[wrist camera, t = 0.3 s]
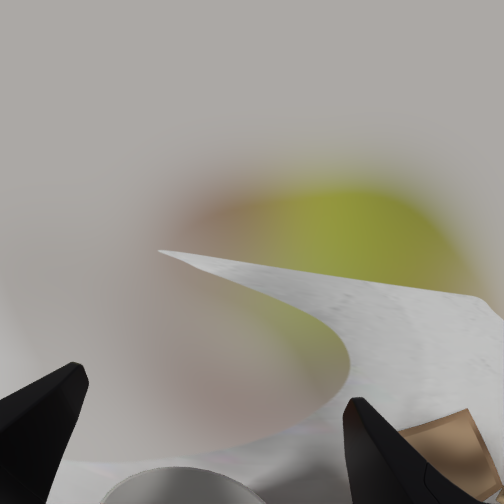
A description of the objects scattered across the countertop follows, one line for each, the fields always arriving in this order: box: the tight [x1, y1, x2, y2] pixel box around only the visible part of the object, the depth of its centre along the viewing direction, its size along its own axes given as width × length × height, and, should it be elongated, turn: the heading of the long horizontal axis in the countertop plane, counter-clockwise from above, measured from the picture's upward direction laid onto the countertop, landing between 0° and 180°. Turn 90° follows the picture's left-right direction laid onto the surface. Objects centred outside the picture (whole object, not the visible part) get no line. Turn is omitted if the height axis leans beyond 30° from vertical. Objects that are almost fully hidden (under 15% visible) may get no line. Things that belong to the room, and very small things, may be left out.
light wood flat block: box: [398, 408, 503, 502], centre depth 13 cm, size 10×10×4 cm
